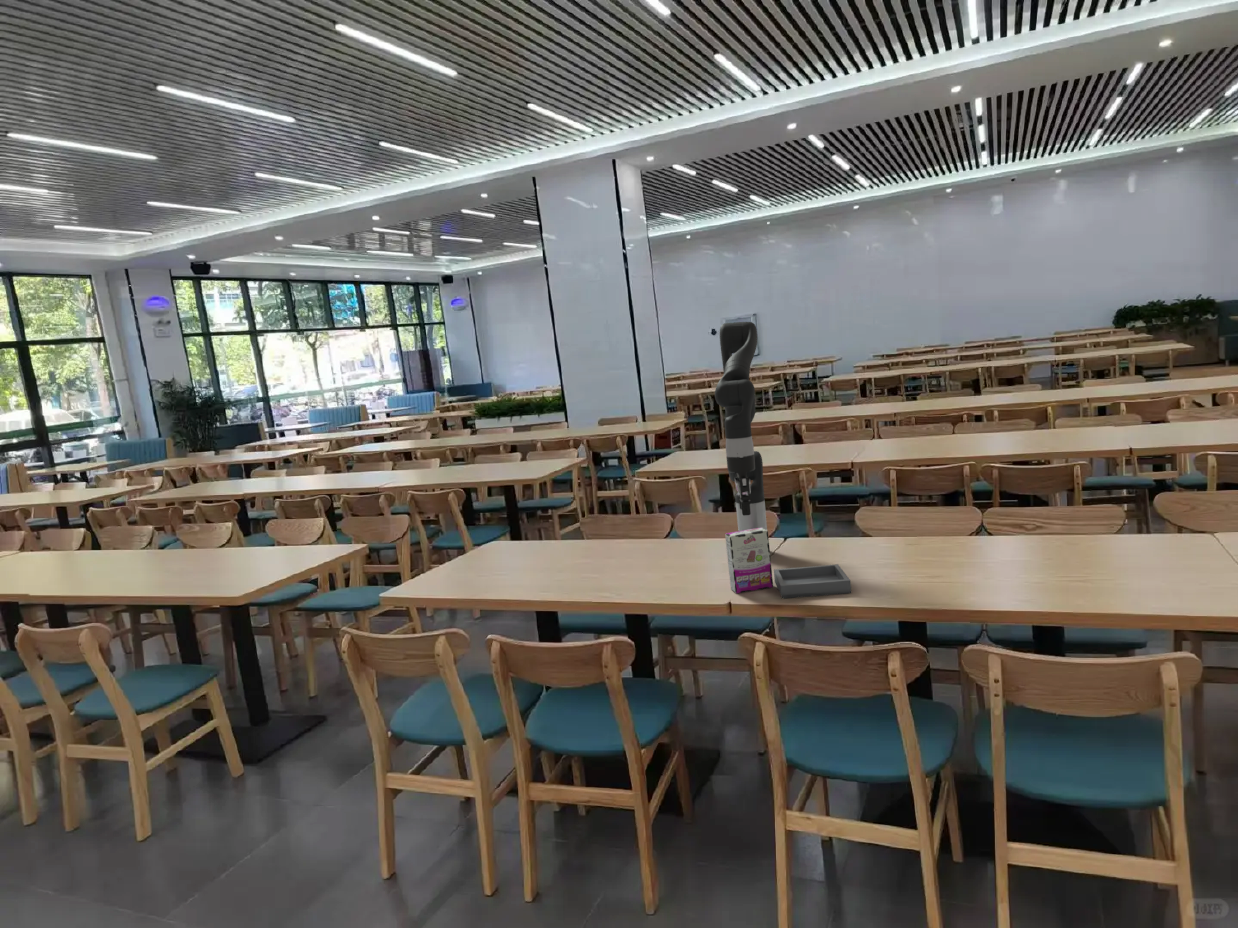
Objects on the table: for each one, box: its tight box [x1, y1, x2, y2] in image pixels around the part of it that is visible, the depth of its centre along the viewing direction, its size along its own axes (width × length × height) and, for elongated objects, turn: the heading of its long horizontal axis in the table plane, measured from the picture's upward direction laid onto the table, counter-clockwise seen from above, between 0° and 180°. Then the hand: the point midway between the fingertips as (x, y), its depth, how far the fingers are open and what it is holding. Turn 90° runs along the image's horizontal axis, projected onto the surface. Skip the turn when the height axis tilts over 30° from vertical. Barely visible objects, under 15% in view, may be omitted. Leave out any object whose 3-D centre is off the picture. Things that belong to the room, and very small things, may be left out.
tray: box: [773, 563, 852, 599], centre depth 217 cm, size 16×18×4 cm
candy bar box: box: [724, 528, 774, 594], centre depth 221 cm, size 11×5×16 cm, turn 101°
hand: (745, 512), depth 219 cm, fingers open, 8 cm apart
